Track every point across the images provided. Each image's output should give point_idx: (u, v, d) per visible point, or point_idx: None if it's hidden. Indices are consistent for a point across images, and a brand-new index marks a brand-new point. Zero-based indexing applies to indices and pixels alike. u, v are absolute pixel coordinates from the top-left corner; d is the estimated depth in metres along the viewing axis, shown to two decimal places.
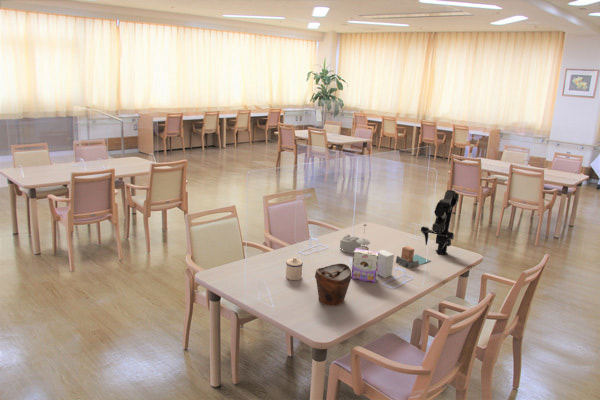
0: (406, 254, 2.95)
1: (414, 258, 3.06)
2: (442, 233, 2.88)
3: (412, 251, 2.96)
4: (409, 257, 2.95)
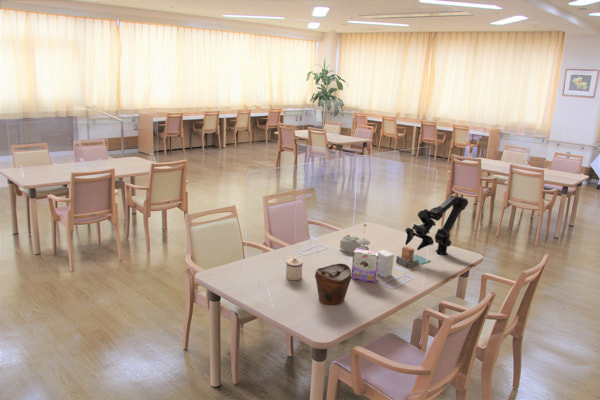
0: (406, 254, 2.95)
1: (414, 258, 3.06)
2: (423, 237, 2.97)
3: (412, 251, 2.96)
4: (409, 257, 2.95)
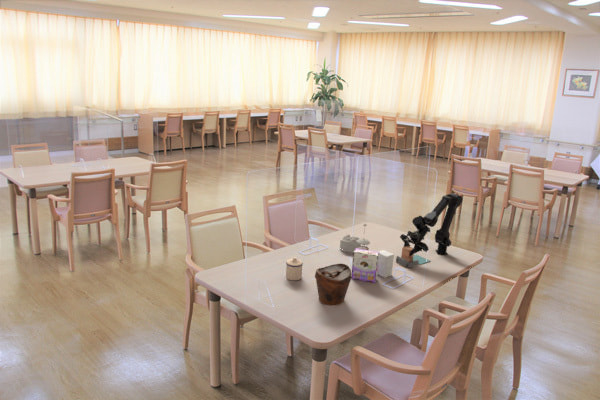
0: (406, 254, 2.95)
1: (414, 258, 3.06)
2: (417, 243, 2.96)
3: None
4: (409, 257, 2.95)
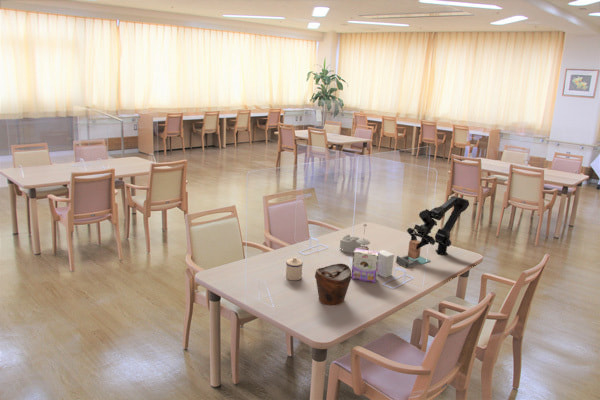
0: (413, 247, 2.98)
1: None
2: (424, 237, 2.98)
3: None
4: (416, 250, 2.98)
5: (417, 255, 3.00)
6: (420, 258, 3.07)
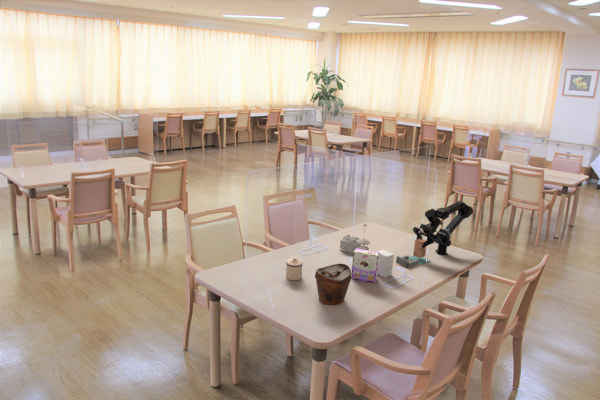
0: (419, 246, 3.01)
1: (414, 258, 3.06)
2: (430, 236, 3.02)
3: None
4: (422, 249, 3.01)
5: (423, 254, 3.03)
6: (420, 258, 3.07)
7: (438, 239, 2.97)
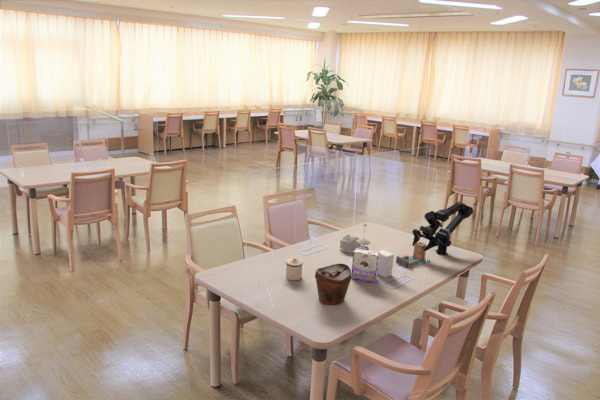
0: (418, 250, 3.01)
1: None
2: (429, 238, 3.02)
3: (424, 247, 3.02)
4: (421, 252, 3.02)
5: (422, 257, 3.04)
6: None
7: (438, 241, 2.97)
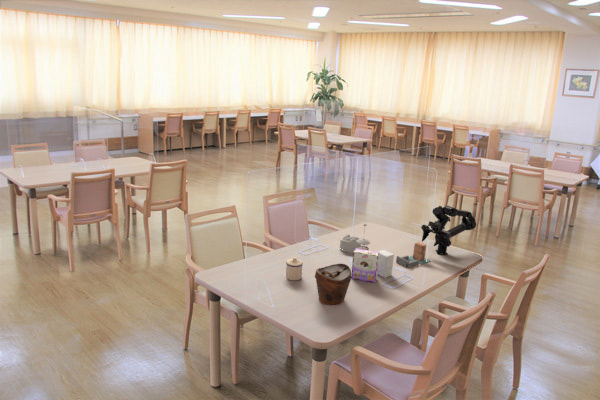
0: (418, 250, 3.01)
1: None
2: (439, 233, 3.06)
3: (424, 247, 3.02)
4: (421, 252, 3.02)
5: (422, 257, 3.04)
6: None
7: (447, 236, 3.01)
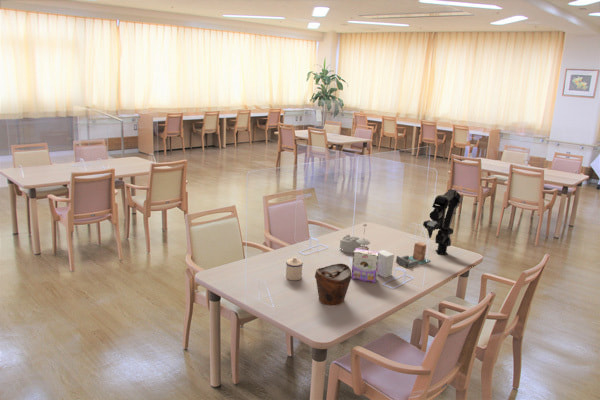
0: (418, 250, 3.01)
1: None
2: (441, 228, 2.98)
3: (424, 247, 3.02)
4: (421, 252, 3.02)
5: (422, 257, 3.04)
6: None
7: (449, 232, 2.93)
